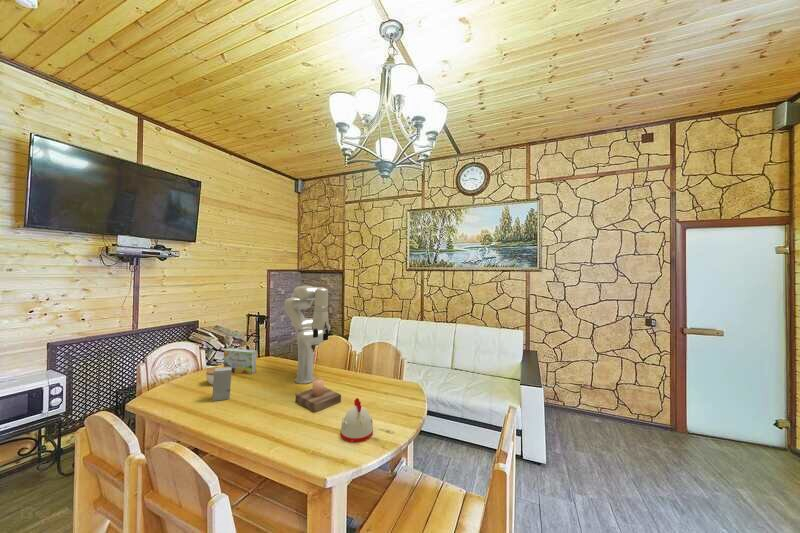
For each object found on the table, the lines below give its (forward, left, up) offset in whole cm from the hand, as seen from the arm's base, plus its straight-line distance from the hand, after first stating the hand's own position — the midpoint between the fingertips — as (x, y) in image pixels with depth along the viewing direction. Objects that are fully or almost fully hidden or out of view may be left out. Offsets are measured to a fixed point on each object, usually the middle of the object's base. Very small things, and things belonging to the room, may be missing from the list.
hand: (320, 338), depth 175 cm
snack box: (-65, -17, -31) cm, 74 cm away
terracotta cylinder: (+12, -9, -26) cm, 30 cm away
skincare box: (-30, -41, -31) cm, 59 cm away
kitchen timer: (+50, -16, -31) cm, 61 cm away
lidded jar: (-55, -35, -31) cm, 72 cm away
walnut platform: (+12, -9, -30) cm, 34 cm away
